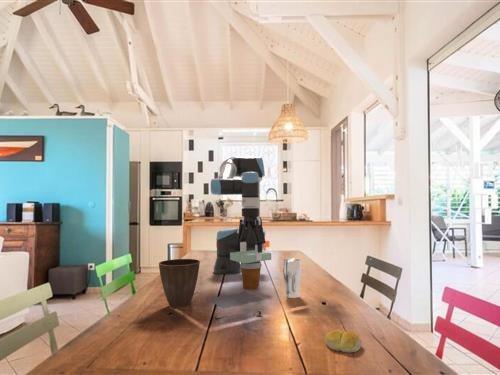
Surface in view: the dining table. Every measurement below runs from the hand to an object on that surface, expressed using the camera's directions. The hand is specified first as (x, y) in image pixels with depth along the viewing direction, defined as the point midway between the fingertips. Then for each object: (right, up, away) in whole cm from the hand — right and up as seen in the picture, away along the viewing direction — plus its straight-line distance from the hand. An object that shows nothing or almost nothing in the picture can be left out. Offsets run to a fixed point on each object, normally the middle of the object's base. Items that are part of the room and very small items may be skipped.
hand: (250, 258), depth 149 cm
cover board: (0, 0, 0) cm, 0 cm away
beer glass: (+16, -13, -14) cm, 25 cm away
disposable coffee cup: (0, -14, -1) cm, 14 cm away
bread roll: (+24, -11, -59) cm, 64 cm away
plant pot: (-26, -13, -22) cm, 37 cm away
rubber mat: (-6, -13, -18) cm, 23 cm away
